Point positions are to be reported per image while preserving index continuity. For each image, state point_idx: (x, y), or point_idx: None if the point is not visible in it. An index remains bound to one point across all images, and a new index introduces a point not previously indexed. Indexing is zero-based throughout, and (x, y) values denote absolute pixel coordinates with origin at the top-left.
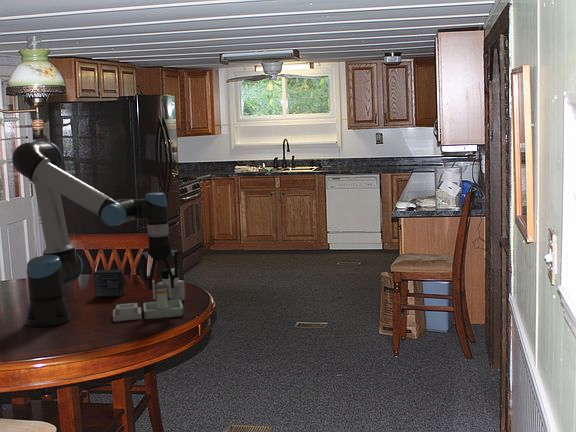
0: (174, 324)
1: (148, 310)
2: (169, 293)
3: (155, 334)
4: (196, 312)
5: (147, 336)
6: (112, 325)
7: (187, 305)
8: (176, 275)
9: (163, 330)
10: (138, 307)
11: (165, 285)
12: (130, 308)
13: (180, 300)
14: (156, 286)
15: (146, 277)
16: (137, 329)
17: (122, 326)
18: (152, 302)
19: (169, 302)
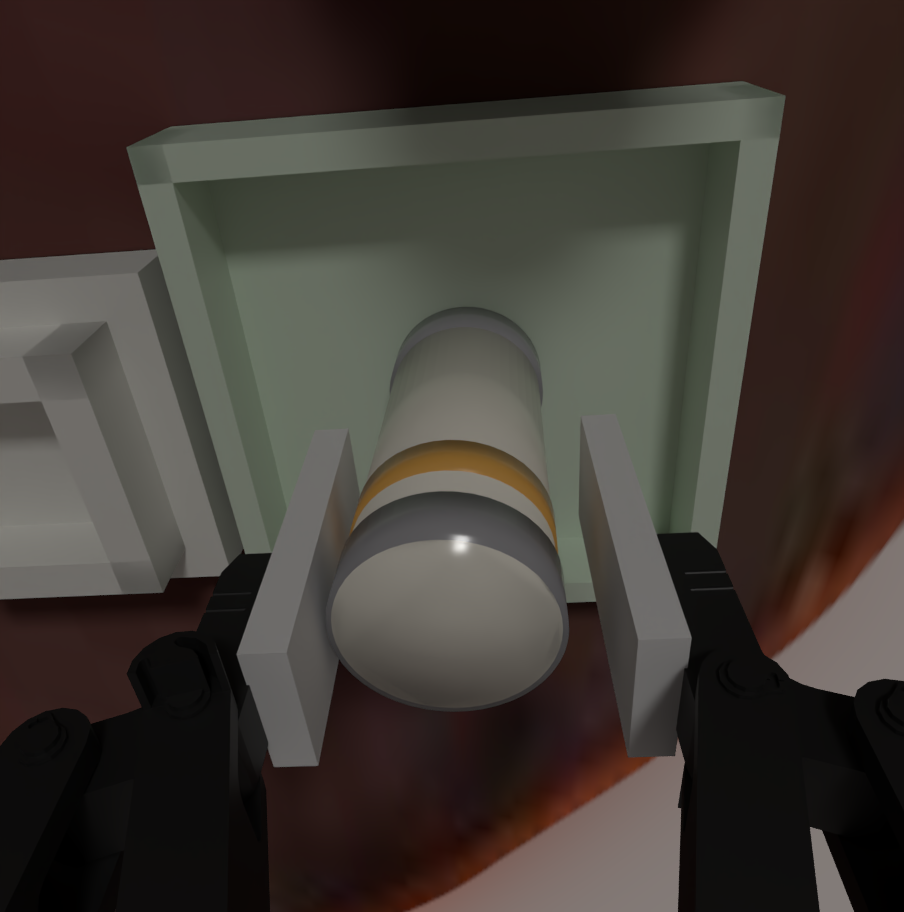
0: (566, 742)
1: (263, 276)
2: (590, 560)
3: (427, 878)
4: (854, 448)
5: (379, 894)
6: (25, 654)
7: (861, 2)
8: (864, 850)
9: (478, 831)
10: (109, 293)
11: (544, 668)
12: (82, 593)
13: (764, 170)
14: (368, 674)
15: (114, 874)
16: (281, 779)
17: (131, 696)
18: (286, 170)
19: (570, 148)
